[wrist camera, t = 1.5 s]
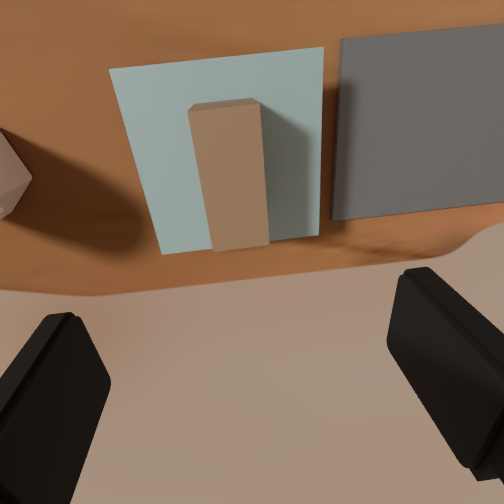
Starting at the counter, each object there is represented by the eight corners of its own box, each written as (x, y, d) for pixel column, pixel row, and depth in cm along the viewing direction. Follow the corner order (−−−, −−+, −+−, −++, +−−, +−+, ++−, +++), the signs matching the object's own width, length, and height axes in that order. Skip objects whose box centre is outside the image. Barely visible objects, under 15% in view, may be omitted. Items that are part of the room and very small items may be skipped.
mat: (576, 17, 25) (583, 15, 25) (508, 198, 33) (512, 200, 33) (341, 39, 24) (343, 38, 24) (331, 219, 33) (332, 221, 32)
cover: (319, 47, 21) (352, 38, 15) (315, 230, 28) (337, 265, 23) (113, 69, 20) (76, 67, 15) (163, 249, 27) (150, 289, 22)
